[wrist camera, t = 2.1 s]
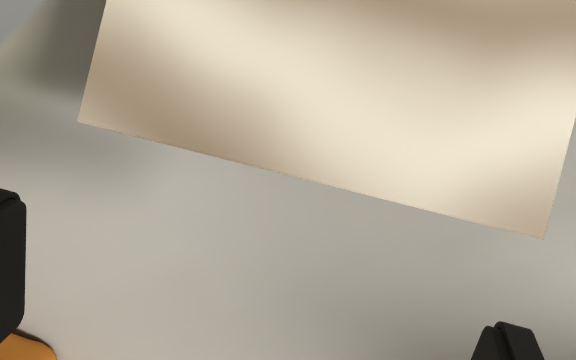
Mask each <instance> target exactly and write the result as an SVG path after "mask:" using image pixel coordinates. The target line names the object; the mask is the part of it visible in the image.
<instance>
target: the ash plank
mask: <svg viewBox="0 0 576 360" xmlns="http://www.w3.org/2000/svg"><path fill="white" fill-rule="evenodd" d="M575 118H576V0H106V5H105V9H104V13H103V17H102V21H101V25H100V29H99V33H98V37H97V41H96V45H95V49H94V53H93V58H92V62H91V66H90V70H89V74H88V78H87V82H86V86H85V90H84V94H83V98H82V102H81V107H80V111H79V115H78V119H77V122H80V123H84V124H88V125H92V126H96V127H100V128H104V129H108V130H112V131H115V132H119V133H123V134H127V135H131V136H135V137H139V138H143V139H147V140H151V141H155V142H159V143H163V144H167V145H171V146H175V147H179V148H183V149H187V150H191V151H195V152H198V153H202V154H206V155H210V156H214V157H218V158H222V159H226V160H230V161H234V162H238V163H242V164H246V165H250V166H254V167H258V168H262V169H266V170H270V171H274V172H278V173H281V174H285V175H289V176H293V177H297V178H301V179H305V180H309V181H313V182H317V183H321V184H325V185H329V186H333V187H337V188H341V189H345V190H349V191H353V192H357V193H361V194H364V195H368V196H372V197H376V198H380V199H384V200H388V201H392V202H396V203H400V204H404V205H408V206H412V207H416V208H420V209H424V210H428V211H432V212H436V213H440V214H444V215H447V216H451V217H455V218H459V219H463V220H467V221H471V222H475V223H479V224H483V225H487V226H491V227H495V228H499V229H503V230H507V231H511V232H515V233H519V234H523V235H527V236H530V237H534V238H538V239H542V240H544V236H545V233H546V229H547V225H548V221H549V217H550V213H551V210H552V206H553V202H554V198H555V194H556V190H557V187H558V183H559V179H560V175H561V171H562V167H563V164H564V160H565V156H566V152H567V148H568V144H569V141H570V137H571V133H572V129H573V125H574V121H575Z"/></svg>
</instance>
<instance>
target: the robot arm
mask: <svg viewBox="0 0 576 360" xmlns="http://www.w3.org/2000/svg"><path fill="white" fill-rule="evenodd" d="M25 257H26V205H25V203H23V202H21V200H20V197H19V195H18V194H17V193H15V192H11V191H8V190H4V189H0V343H2V342H3V341H4V340H5V339H6V338H7V337H8V336H9V335H10V334H11V333H12V332H13V331H14V330H15V329H16V328H17V327H18V326H19V324H20V323H21V320H22V318H23V315H24V306H25ZM471 360H544V357H543V355H542V353H541V350H540V348H539V346H538V343H537V341H536V339H535V336H534V334H533V332H532V331H531V330H530V329H527V328H524V327H520V326H516V325H512V324H509V323H505V322H501V321H499V322H497V323H496V324H495V326H494V327H490V326H486V327H485V328H484V329H483V331H482V334H481V336H480V339H479V341H478V343H477V346H476V348H475V351H474V353H473V356H472V358H471Z"/></svg>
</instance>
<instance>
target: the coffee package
mask: <svg viewBox="0 0 576 360" xmlns="http://www.w3.org/2000/svg"><path fill="white" fill-rule="evenodd" d="M0 360H57V356H56V354H55V353H54V351H53V350H52V349H50V348H49V347H48V346H46V345H45V344H43V343H41V342H37V341H33V340H29V339H26V338H23V337H21V336H18V335H16V334H13V333H11V334H10V335H9V336H8V337H7V338H6V339H5V340H4V341H3V342H2V343H0Z"/></svg>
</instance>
